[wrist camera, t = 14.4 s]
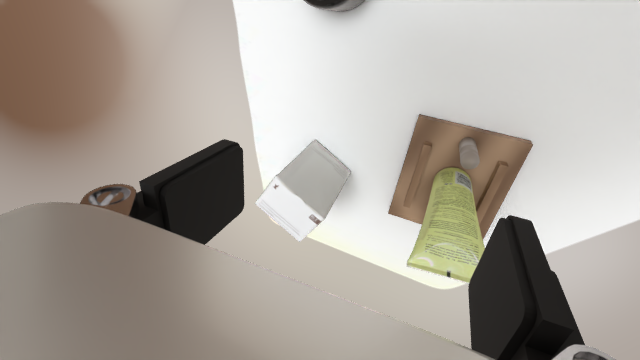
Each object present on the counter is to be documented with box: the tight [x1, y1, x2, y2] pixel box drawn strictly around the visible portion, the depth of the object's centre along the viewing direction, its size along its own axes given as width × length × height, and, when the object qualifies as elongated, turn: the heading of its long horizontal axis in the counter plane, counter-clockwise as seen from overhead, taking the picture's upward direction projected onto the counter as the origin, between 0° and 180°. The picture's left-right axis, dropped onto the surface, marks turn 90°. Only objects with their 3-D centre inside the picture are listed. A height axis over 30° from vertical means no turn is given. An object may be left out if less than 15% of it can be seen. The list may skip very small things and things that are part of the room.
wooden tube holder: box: [388, 114, 533, 240], centre depth 41 cm, size 14×16×8 cm
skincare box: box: [255, 140, 351, 242], centre depth 45 cm, size 8×6×15 cm
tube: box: [407, 167, 485, 284], centre depth 35 cm, size 6×5×20 cm
